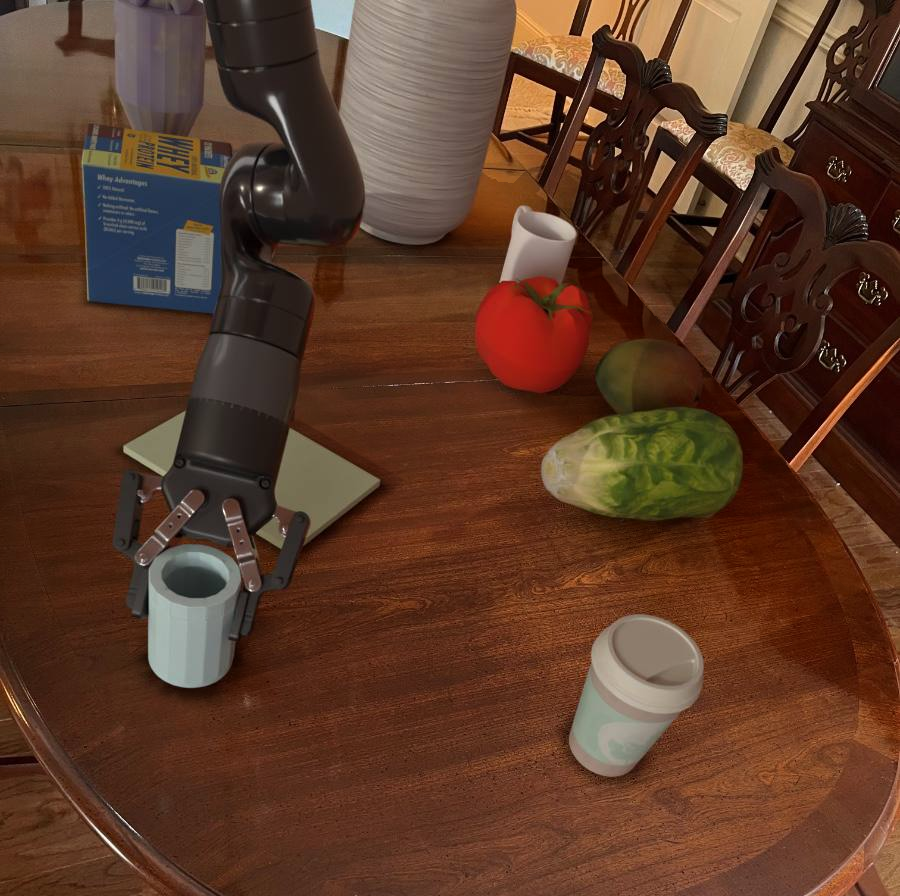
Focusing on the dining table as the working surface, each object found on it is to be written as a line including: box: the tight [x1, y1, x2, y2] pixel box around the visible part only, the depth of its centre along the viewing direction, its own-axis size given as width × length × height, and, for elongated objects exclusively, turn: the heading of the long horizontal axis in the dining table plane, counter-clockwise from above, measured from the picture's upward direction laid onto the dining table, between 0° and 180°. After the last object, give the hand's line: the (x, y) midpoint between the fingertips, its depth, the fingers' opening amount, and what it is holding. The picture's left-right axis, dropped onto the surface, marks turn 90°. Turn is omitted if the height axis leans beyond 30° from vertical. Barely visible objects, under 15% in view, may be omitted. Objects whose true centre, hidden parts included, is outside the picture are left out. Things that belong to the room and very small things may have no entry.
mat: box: [123, 410, 381, 550], centre depth 95 cm, size 20×14×1 cm
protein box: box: [80, 122, 234, 315], centre depth 109 cm, size 10×15×16 cm
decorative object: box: [113, 0, 207, 137], centre depth 119 cm, size 10×10×30 cm
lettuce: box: [540, 407, 744, 522], centre depth 100 cm, size 12×21×11 cm, turn 109°
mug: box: [499, 205, 578, 286], centre depth 129 cm, size 12×8×10 cm, turn 19°
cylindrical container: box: [147, 543, 243, 689], centre depth 74 cm, size 6×6×9 cm
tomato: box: [474, 276, 593, 394], centre depth 114 cm, size 13×14×12 cm
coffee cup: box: [568, 613, 705, 778], centre depth 76 cm, size 8×8×12 cm
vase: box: [338, 0, 518, 246], centre depth 128 cm, size 20×20×34 cm
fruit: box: [594, 338, 703, 414], centre depth 113 cm, size 12×13×10 cm
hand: (187, 628), depth 72 cm, fingers closed on cylindrical container, 6 cm apart
